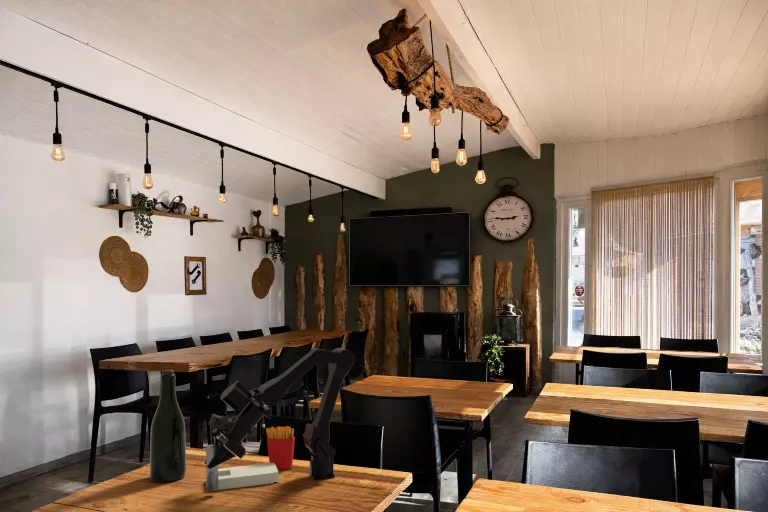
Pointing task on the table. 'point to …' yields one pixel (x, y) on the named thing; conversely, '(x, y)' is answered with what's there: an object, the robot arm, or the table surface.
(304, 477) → the table surface
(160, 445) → the beer bottle
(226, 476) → the socket board
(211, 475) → the peg
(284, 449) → the french fries
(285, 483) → the table surface
